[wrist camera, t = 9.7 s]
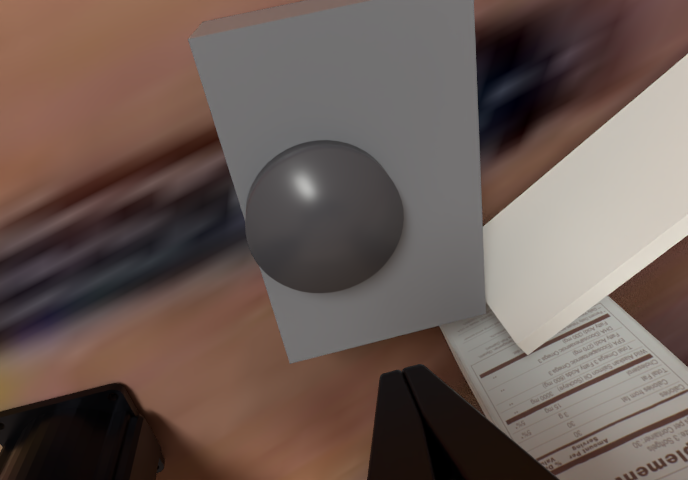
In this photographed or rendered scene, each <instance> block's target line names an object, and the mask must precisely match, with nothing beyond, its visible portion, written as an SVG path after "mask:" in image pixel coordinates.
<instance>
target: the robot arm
mask: <svg viewBox="0 0 688 480" xmlns="http://www.w3.org/2000/svg"><path fill="white" fill-rule="evenodd" d="M111 393H115V394H117V395H113V394H111ZM0 444H1V445H2V447H3V448H2V450H1V452H0V480H155V479H156V473H159V472H161V471H162V470H163V468H164V464H165V459H164V457H163V455H162V453H161V452H160V451H161V446H160V444H159V443H158V441H157V439H156V437H155V435H154V434H153V432H152V430H151V428H150V426H149V425H148V423H147V421H146V419H145V418H144V417H143V416H142V415H140V414H139V412H138V411H137V409H136V407H135V405H134V404H133V402H132V400H131V398H130V396H129V395H128V393H127V391H126V389H125V388H124V387H123V386H122V385H120V384H109V385H105V386H101V387H97V388H93V389H89V390H85V391H81V392H77V393H73V394H69V395H65V396H61V397H57V398H53V399H49V400H45V401H41V402H37V403H33V404H29V405H25V406H21V407H17V408H13V409H9V410H5V411H1V412H0ZM367 480H560V479H559V478H557V477H556V476H555V475H554V474H553V473H551V472H550V471H549V470H548V469H547V468H546V467H544V466H543V465H542V464H541V463H540V462H538V461H537V460H536V459H535V458H534V457H532V456H531V455H530V454H529V453H528V452H527V451H525V450H524V449H523V448H522V447H521V446H519V445H518V444H517V443H516V442H515V441H513V440H512V439H511V438H510V437H509V436H507V435H506V434H505V433H504V432H503V431H502V430H500V429H499V428H498V427H497V426H496V425H494V424H493V423H492V422H491V421H490V420H488V419H487V418H486V417H485V416H484V415H483V414H481V413H480V412H479V411H478V410H477V409H475V408H474V407H473V406H472V405H471V404H469V403H468V402H467V401H466V400H465V399H464V398H462V397H461V396H460V395H459V394H458V393H456V392H455V391H454V390H453V389H452V388H450V387H449V386H448V385H447V384H446V383H444V382H443V381H442V380H441V379H440V378H439V377H437V376H436V375H435V374H434V373H433V372H431V371H430V370H429V369H428V368H427V367H425V366H424V365H422V364H418V365H414V366H410V367H407V368H404V369H403V370H402V372H401V371H400V370H395V371H391V372H387V373H383V374H382V375H381V376H380V380H379V388H378V396H377V404H376V412H375V420H374V429H373V437H372V445H371V453H370V461H369V469H368V477H367Z"/></svg>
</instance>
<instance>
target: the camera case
mask: <svg viewBox="0 0 688 480" xmlns="http://www.w3.org/2000/svg"><path fill="white" fill-rule="evenodd" d="M188 41H189V44H190V47H191V50H192V53H193V57H194V60H195V63H196V66H197V69H198V73H199V76H200V79H201V82H202V85H203V88H204V92H205V95H206V98H207V101H208V104H209V108H210V111H211V114H212V117H213V120H214V123H215V127H216V130H217V133H218V136H219V139H220V143H221V146H222V149H223V152H224V155H225V158H226V162H227V165H228V168H229V171H230V174H231V178H232V181H233V184H234V187H235V190H236V193H237V197H238V200H239V203H240V206H241V209H242V213H243V216H244V219H245V228H246V238H247V242H248V246H249V249H250V251H251V254H252V256H253V257H254V259H255V261H256V262H257V264H258V265H259V267H260V270H261V273H262V276H263V279H264V283H265V286H266V289H267V292H268V295H269V298H270V302H271V305H272V308H273V311H274V314H275V318H276V321H277V324H278V327H279V330H280V333H281V337H282V340H283V343H284V346H285V349H286V353H287V356H288V359H289V362H290V364H291V363H295V362H298V361H302V360H306V359H310V358H314V357H318V356H322V355H326V354H330V353H334V352H338V351H342V350H346V349H349V348H353V347H357V346H361V345H365V344H369V343H373V342H377V341H381V340H385V339H389V338H393V337H397V336H400V335H404V334H408V333H412V332H416V331H420V330H424V329H428V328H432V327H436V326H440V325H444V324H448V323H451V322H455V321H459V320H463V319H467V318H471V317H475V316H479V315H483V314H486V300H485V275H484V249H483V224H482V199H481V173H480V148H479V123H478V97H477V72H476V47H475V22H474V0H305V1H300V2H296V3H291V4H286V5H281V6H277V7H272V8H267V9H262V10H257V11H253V12H248V13H243V14H238V15H234V16H229V17H224V18H219V19H215V20H210V21H205V22H202V23H201V25H200V26H199V27H198V28H197V29H196V30H195V31H194V33H193V34H192V35H191V36H190V37H189V38H188Z"/></svg>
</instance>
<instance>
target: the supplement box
mask: <svg viewBox="0 0 688 480" xmlns="http://www.w3.org/2000/svg"><path fill="white" fill-rule="evenodd" d="M439 327H440V329H441V331H442V333H443V335H444V337H445V339H446V341H447V343H448V346H449V348H450V350H451V352H452V354H453V356H454V358H455V360H456V362H457V364H458V366H459V368H460V370H461V372H462V374H463V375H464V377H465V379H466V381H467V383H468V385H469V387H470V388H471V390H472V392H473V394H474V396H475V398H476V399H477V401H478V403H479V405H480V407H481V409H482V411H483V412H484V414H485V416H486V418H487V419H488V420H490V421H491V422H492V423H493V424H494V425H496V426H497V427H498V428H499V429H500V430H502V431H503V432H504V433H505V434H506V435H507V436H509V437H510V438H511V439H512V440H513V441H515V442H516V443H517V444H518V445H519V446H521V447H522V448H523V449H524V450H525V451H527V452H528V453H529V454H530V455H531V456H532V457H534V458H535V459H536V460H537V461H538V462H540V463H541V464H542V465H543V466H544V467H546V468H547V469H548V470H549V471H550V472H551V473H553V474H554V475H555V476H556V477H557V478H559V479H560V480H688V367H687V366H686V365H685V364H683V363H682V362H681V361H680V360H679V359H678V358H677V357H676V356H675V355H674V354H672V353H671V352H670V351H669V350H668V349H667V348H666V347H665V346H664V345H663V344H661V343H660V342H659V341H658V340H657V339H656V338H655V337H654V336H652V335H651V334H650V333H649V332H648V331H647V330H646V329H645V328H643V327H642V326H641V325H640V324H639V323H638V322H637V321H636V320H635V319H633V318H632V317H631V316H630V315H629V314H628V313H627V312H625V311H624V310H623V309H622V308H621V307H620V306H619V305H618V304H617V303H615V302H614V301H613V300H612V299H611V298H610V297H609V296H608V295H607V296H606V297H605V298H603V299H602V300H601V301H599V302H598V303H597V304H595V305H594V306H593V307H591V308H590V309H589V310H587V311H586V312H585V313H583V314H582V315H581V316H579V317H578V318H577V319H575V320H574V321H573V322H571V323H570V324H569V325H567V326H566V327H565V328H563V329H562V330H561V331H559V332H558V333H557V334H555V335H554V336H553V337H552V338H550V339H549V340H548V341H546V342H545V343H544V344H542V345H541V346H540V347H538V348H537V349H536V350H534V351H533V352H532V353H530V354H529V355H527V354H526V353H525V352H524V351H523V350H522V349H521V348H520V347H519V346H518V345H517V344H516V343H515V342H514V340H513V339H512V337H511V336H510V335H509V333H508V332H507V330H506V329H505V328H504V326H503V325H502V323H501V322H500V321H499V319H498V318H497V316H496V315H495V314H494V312H493V311H492V309H491V308H490V307H489V305H488V304H487V302H486V314H483V315H479V316H475V317H471V318H467V319H463V320H459V321H455V322H451V323H448V324H444V325H440V326H439Z"/></svg>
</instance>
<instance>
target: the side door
mask: <svg viewBox="0 0 688 480" xmlns="http://www.w3.org/2000/svg"><path fill="white" fill-rule="evenodd" d="M687 235H688V54H687V55H686V56H685V57H684V58H682V59H681V60H680V61H679V62H678V63H676V64H675V65H674V66H673V67H672V68H670V69H669V70H668V71H667V72H666V73H665V74H663V75H662V76H661V77H660V78H659V79H657V80H656V81H655V82H654V83H653V84H652V85H650V86H649V87H648V88H647V89H646V90H644V91H643V92H642V93H641V94H640V95H638V96H637V97H636V98H635V99H634V100H633V101H631V102H630V103H629V104H628V105H627V106H625V107H624V108H623V109H622V110H621V111H620V112H618V113H617V114H616V115H615V116H614V117H612V118H611V119H610V120H609V121H608V122H606V123H605V124H604V125H603V126H602V127H601V128H599V129H598V130H597V131H596V132H595V133H593V134H592V135H591V136H590V137H589V138H588V139H586V140H585V141H584V142H583V143H582V144H580V145H579V146H578V147H577V148H576V149H574V150H573V151H572V152H571V153H570V154H569V155H567V156H566V157H565V158H564V159H563V160H561V161H560V162H559V163H558V164H557V165H556V166H554V167H553V168H552V169H551V170H550V171H548V172H547V173H546V174H545V175H544V176H542V177H541V178H540V179H539V180H538V181H537V182H535V183H534V184H533V185H532V186H531V187H529V188H528V189H527V190H526V191H525V192H524V193H522V194H521V195H520V196H519V197H518V198H516V199H515V200H514V201H513V202H512V203H510V204H509V205H508V206H507V207H506V208H505V209H503V210H502V211H501V212H500V213H499V214H497V215H496V216H495V217H494V218H493V219H492V220H490V221H489V222H488V223H487V224H486V225H484V226H483V249H484V275H485V300H486V302H487V304H488V305H489V307H490V308H491V309H492V311H493V312H494V314H495V315H496V316H497V318H498V319H499V321H500V322H501V323H502V325H503V326H504V328H505V329H506V330H507V332H508V333H509V335H510V336H511V337H512V339H513V340H514V342H515V343H516V344H517V345H518V346H519V347H520V348H521V349H522V350H523V351H524V352H525V353H526V354H527V355H529V354H530V353H532V352H533V351H534V350H536V349H537V348H538V347H540V346H541V345H542V344H544V343H545V342H546V341H548V340H549V339H550V338H552V337H553V336H554V335H555V334H557V333H558V332H559V331H561V330H562V329H563V328H565V327H566V326H567V325H569V324H570V323H571V322H573V321H574V320H575V319H577V318H578V317H579V316H581V315H582V314H583V313H585V312H586V311H587V310H589V309H590V308H591V307H593V306H594V305H595V304H597V303H598V302H599V301H601V300H602V299H603V298H605V297H606V296H607V295H609V294H610V293H611V292H613V291H614V290H615V289H617V288H618V287H619V286H621V285H622V284H623V283H625V282H626V281H627V280H629V279H630V278H631V277H633V276H634V275H635V274H637V273H638V272H639V271H641V270H642V269H643V268H645V267H646V266H647V265H648V264H650V263H651V262H652V261H654V260H655V259H656V258H658V257H659V256H660V255H662V254H663V253H664V252H666V251H667V250H668V249H670V248H671V247H672V246H674V245H675V244H676V243H678V242H679V241H680V240H682V239H683V238H684V237H686V236H687Z"/></svg>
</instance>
